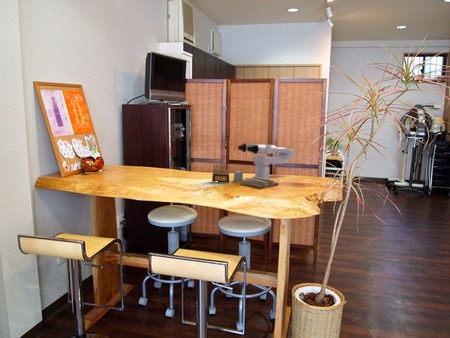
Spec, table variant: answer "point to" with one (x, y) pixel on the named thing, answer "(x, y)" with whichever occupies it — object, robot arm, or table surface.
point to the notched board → (259, 182)
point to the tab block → (238, 176)
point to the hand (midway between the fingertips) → (243, 148)
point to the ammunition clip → (220, 173)
